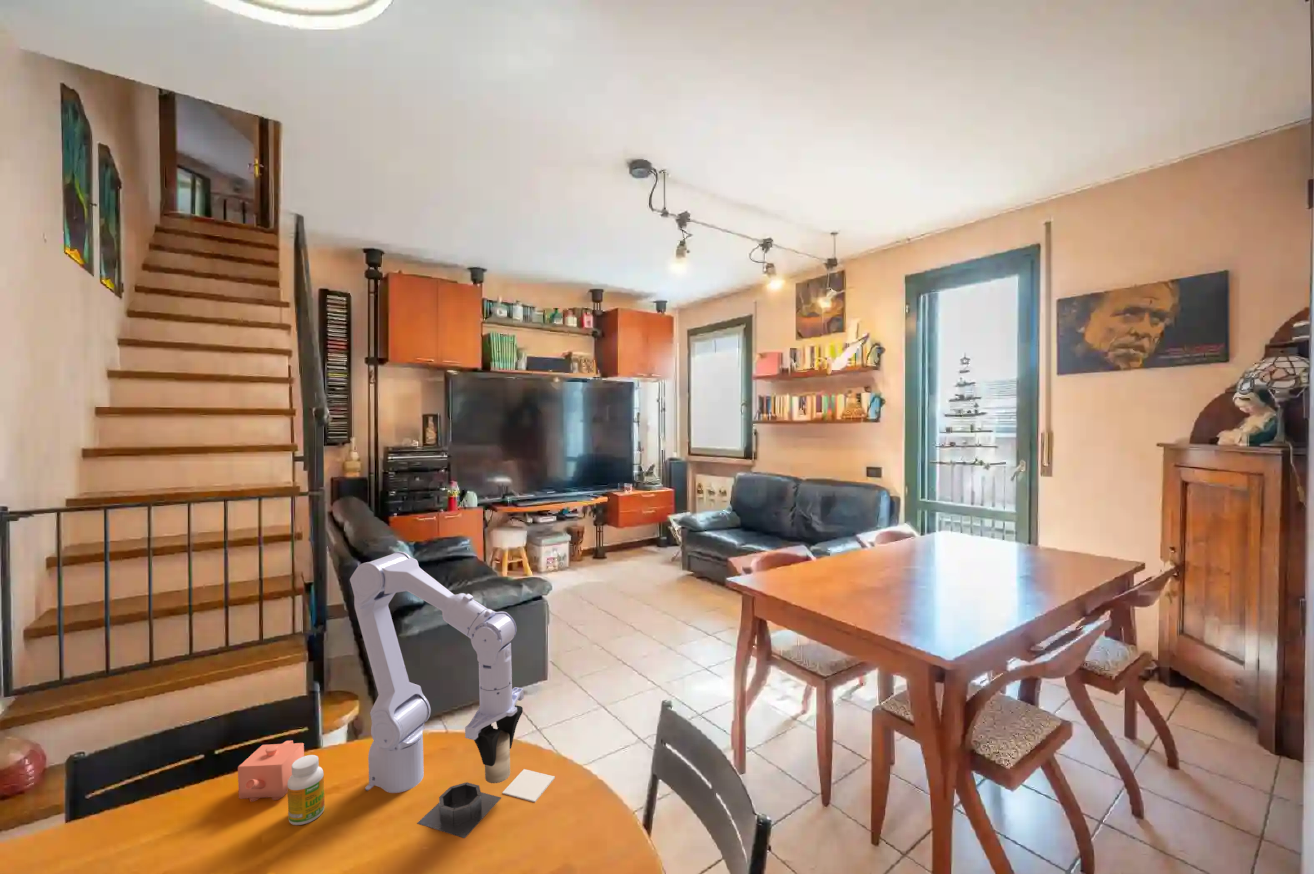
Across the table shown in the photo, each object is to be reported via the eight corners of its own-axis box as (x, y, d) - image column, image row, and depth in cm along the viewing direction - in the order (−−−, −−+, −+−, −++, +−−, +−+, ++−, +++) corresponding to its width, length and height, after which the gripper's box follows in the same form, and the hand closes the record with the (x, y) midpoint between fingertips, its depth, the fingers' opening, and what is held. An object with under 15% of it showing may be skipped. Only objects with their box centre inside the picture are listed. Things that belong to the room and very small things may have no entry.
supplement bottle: (307, 828, 92) (305, 773, 92) (280, 823, 93) (278, 769, 93) (331, 806, 98) (330, 753, 97) (306, 802, 99) (305, 750, 98)
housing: (417, 827, 92) (416, 808, 92) (457, 789, 102) (456, 772, 101) (464, 842, 89) (464, 823, 89) (501, 801, 98) (501, 784, 98)
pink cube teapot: (226, 817, 95) (224, 772, 95) (270, 772, 107) (269, 732, 107) (272, 814, 96) (270, 769, 95) (311, 770, 108) (309, 730, 107)
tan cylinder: (480, 780, 97) (479, 742, 97) (495, 765, 101) (494, 728, 101) (500, 785, 95) (499, 746, 95) (515, 770, 100) (514, 733, 99)
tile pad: (502, 797, 99) (502, 792, 99) (524, 773, 106) (523, 768, 106) (535, 806, 97) (535, 800, 97) (555, 781, 104) (555, 776, 103)
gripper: (488, 706, 89) (490, 786, 90) (536, 668, 103) (538, 737, 104) (454, 699, 92) (456, 777, 92) (505, 663, 106) (507, 730, 106)
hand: (497, 755), depth 98 cm, fingers closed on tan cylinder, 4 cm apart
